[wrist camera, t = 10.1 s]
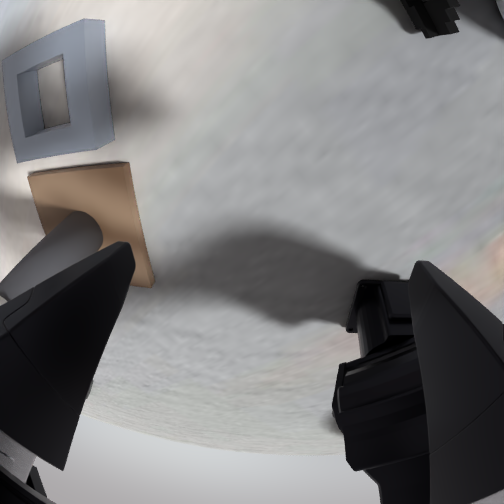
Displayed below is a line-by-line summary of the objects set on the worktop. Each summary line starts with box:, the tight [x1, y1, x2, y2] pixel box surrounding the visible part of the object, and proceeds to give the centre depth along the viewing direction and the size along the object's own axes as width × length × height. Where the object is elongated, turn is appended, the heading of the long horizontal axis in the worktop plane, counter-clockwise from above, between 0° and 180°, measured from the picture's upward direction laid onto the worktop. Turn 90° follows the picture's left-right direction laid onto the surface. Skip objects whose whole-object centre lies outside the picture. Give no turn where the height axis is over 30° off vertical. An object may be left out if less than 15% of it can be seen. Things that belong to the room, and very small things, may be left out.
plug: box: [0, 211, 103, 306], centre depth 20 cm, size 5×5×12 cm
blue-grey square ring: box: [2, 19, 115, 163], centre depth 17 cm, size 10×10×3 cm
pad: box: [27, 162, 155, 288], centre depth 25 cm, size 12×12×1 cm
